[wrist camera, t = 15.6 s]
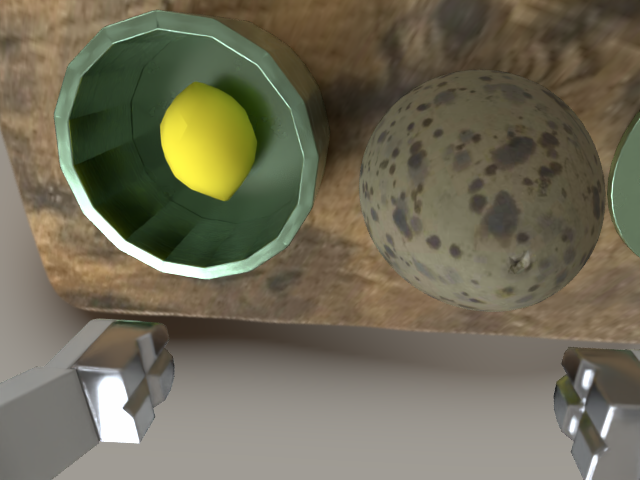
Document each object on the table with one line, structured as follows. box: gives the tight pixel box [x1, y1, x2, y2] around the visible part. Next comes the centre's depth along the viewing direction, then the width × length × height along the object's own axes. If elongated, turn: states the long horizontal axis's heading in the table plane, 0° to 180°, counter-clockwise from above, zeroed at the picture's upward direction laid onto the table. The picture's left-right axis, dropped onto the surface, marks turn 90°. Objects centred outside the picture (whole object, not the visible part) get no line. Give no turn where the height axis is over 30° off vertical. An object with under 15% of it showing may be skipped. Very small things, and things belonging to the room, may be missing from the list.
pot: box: [54, 10, 330, 280], centre depth 26 cm, size 14×14×7 cm
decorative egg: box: [359, 70, 605, 312], centre depth 21 cm, size 11×11×15 cm
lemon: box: [160, 82, 257, 201], centre depth 26 cm, size 7×5×5 cm
